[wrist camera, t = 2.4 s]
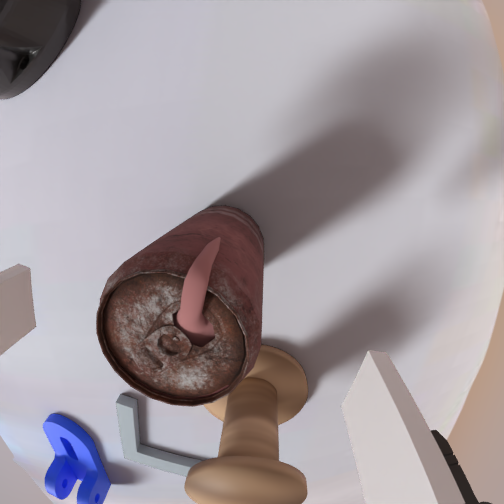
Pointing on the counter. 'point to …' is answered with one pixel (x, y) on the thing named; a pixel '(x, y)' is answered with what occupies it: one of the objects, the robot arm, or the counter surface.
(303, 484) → the bobbin
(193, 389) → the can
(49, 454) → the counter surface
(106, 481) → the bracket
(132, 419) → the grey u-shaped frame
